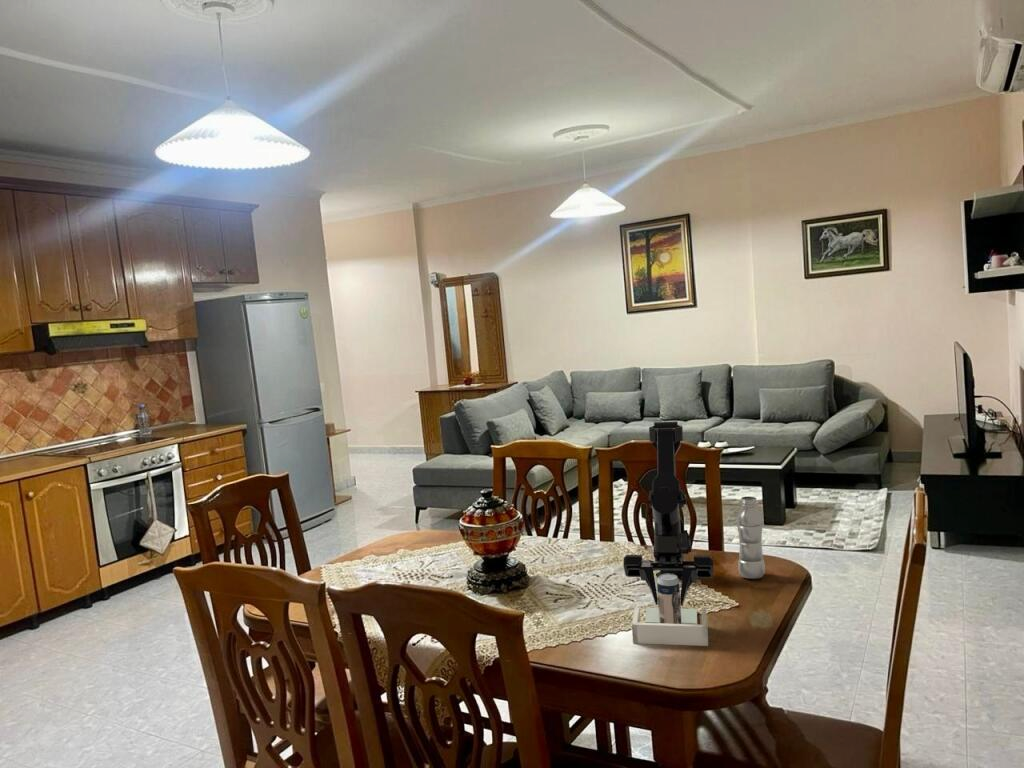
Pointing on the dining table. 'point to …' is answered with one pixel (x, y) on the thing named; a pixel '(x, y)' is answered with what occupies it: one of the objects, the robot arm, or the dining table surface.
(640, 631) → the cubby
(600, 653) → the dining table surface
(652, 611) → the mat
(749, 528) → the plastic bottle
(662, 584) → the pill bottle
